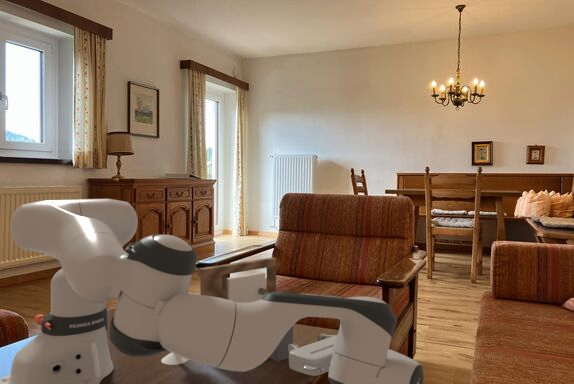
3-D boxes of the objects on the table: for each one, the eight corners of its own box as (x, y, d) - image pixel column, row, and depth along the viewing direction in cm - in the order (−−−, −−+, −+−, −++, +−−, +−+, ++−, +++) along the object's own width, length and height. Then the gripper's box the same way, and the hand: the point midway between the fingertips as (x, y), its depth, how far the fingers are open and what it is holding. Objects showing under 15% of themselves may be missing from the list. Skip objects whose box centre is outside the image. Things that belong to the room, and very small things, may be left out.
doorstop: (277, 361, 111) (277, 320, 110) (261, 354, 115) (261, 314, 115) (293, 356, 114) (293, 316, 114) (277, 349, 119) (277, 310, 118)
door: (231, 352, 115) (231, 280, 115) (225, 349, 117) (225, 278, 117) (268, 341, 123) (268, 273, 123) (261, 338, 125) (261, 272, 125)
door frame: (202, 361, 111) (202, 269, 110) (198, 358, 112) (198, 268, 112) (276, 339, 126) (276, 258, 126) (271, 337, 128) (271, 257, 127)
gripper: (316, 389, 90) (270, 368, 101) (380, 361, 104) (334, 345, 114) (316, 357, 90) (270, 339, 100) (381, 334, 104) (334, 319, 114)
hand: (305, 342), depth 107 cm, fingers open, 8 cm apart
